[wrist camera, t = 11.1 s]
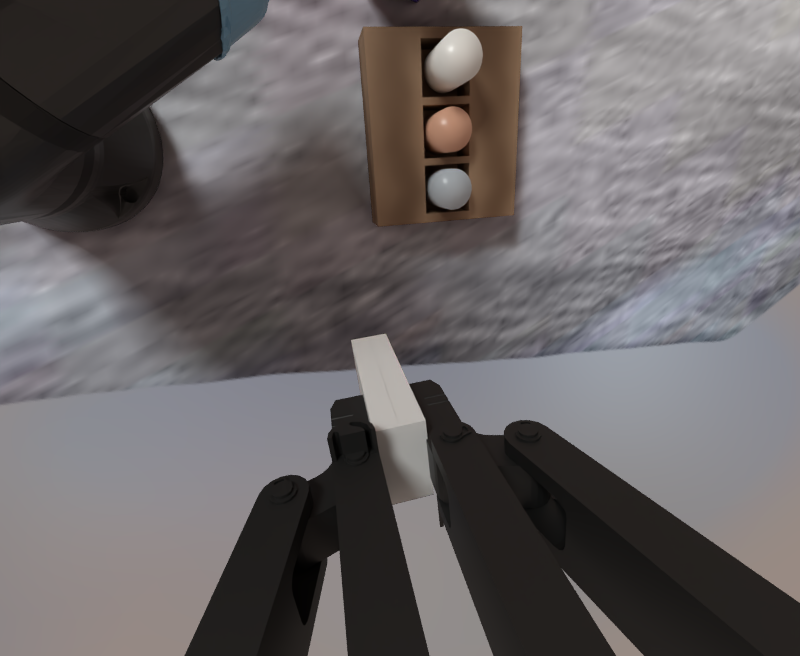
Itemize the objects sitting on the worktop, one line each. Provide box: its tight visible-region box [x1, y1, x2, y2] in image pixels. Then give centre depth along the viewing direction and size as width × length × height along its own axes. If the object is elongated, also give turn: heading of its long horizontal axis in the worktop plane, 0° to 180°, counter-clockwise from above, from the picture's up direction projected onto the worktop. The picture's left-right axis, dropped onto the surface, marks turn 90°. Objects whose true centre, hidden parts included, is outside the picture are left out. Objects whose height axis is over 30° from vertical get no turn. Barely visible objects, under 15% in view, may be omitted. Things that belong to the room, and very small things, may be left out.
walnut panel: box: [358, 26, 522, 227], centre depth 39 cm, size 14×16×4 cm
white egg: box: [423, 28, 483, 93], centre depth 34 cm, size 4×4×5 cm
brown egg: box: [423, 106, 472, 154], centre depth 38 cm, size 4×4×5 cm
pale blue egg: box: [425, 169, 472, 210], centre depth 39 cm, size 4×4×5 cm
